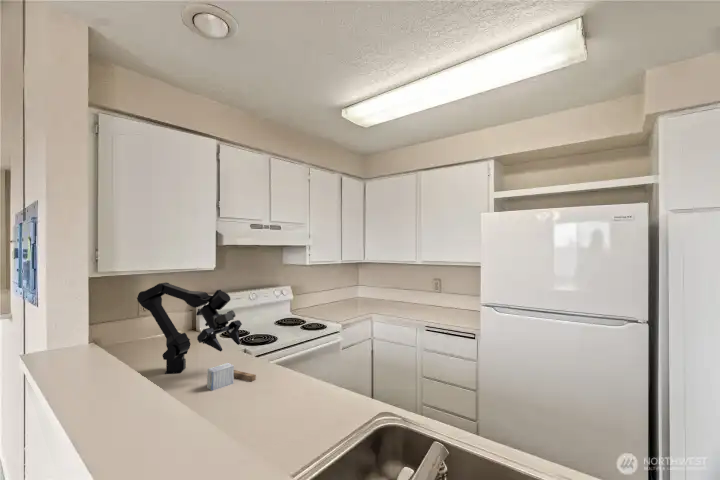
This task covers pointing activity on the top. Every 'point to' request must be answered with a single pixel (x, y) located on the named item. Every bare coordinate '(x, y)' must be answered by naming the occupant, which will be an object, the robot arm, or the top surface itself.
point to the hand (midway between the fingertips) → (230, 347)
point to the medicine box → (220, 376)
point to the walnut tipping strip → (244, 376)
